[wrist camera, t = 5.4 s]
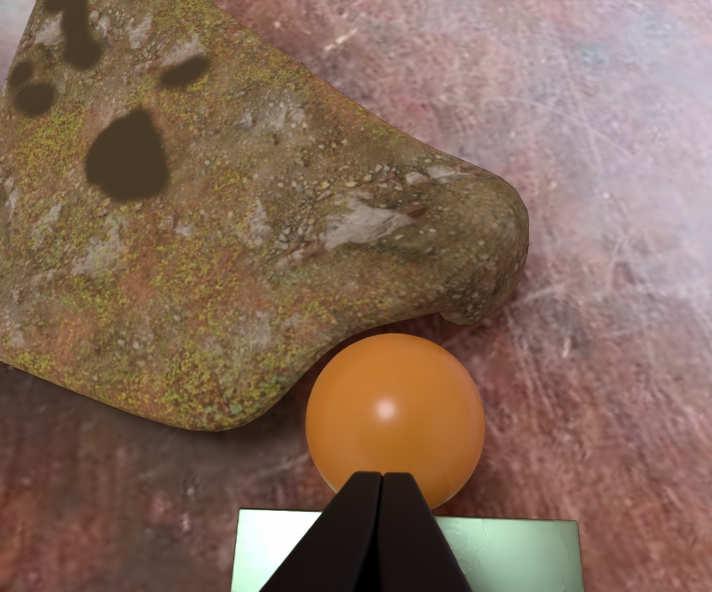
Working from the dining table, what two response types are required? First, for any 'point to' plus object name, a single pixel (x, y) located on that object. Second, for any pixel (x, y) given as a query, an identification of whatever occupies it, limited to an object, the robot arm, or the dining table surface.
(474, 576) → the switch bracket
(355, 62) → the dining table surface
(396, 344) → the switch lever
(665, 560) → the dining table surface
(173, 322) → the decorative stone
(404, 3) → the dining table surface
